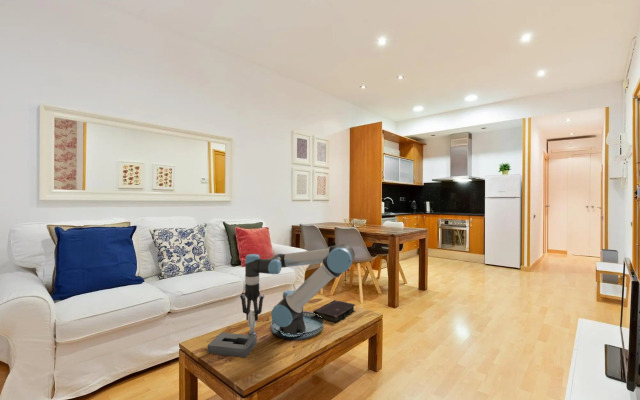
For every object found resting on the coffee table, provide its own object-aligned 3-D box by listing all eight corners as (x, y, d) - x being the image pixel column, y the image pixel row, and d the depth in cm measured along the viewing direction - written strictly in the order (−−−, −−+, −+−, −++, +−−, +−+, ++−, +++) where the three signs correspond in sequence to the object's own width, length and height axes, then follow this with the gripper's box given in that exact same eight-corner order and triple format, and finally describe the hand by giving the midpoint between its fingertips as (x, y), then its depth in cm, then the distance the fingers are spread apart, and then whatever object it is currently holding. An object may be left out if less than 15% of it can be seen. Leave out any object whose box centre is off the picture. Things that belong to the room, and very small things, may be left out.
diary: (312, 317, 197) (312, 309, 197) (333, 306, 218) (333, 299, 218) (337, 324, 186) (337, 316, 186) (356, 312, 207) (356, 304, 207)
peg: (257, 334, 168) (257, 309, 168) (254, 338, 164) (254, 312, 163) (249, 333, 169) (249, 308, 169) (246, 337, 164) (246, 311, 164)
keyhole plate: (256, 343, 161) (256, 335, 161) (246, 357, 147) (246, 349, 147) (221, 339, 164) (221, 332, 164) (207, 353, 150) (207, 345, 150)
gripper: (268, 281, 168) (267, 324, 169) (241, 280, 171) (241, 322, 171) (263, 286, 161) (263, 330, 161) (235, 284, 163) (235, 327, 164)
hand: (252, 325), depth 166 cm, fingers closed on peg, 2 cm apart
